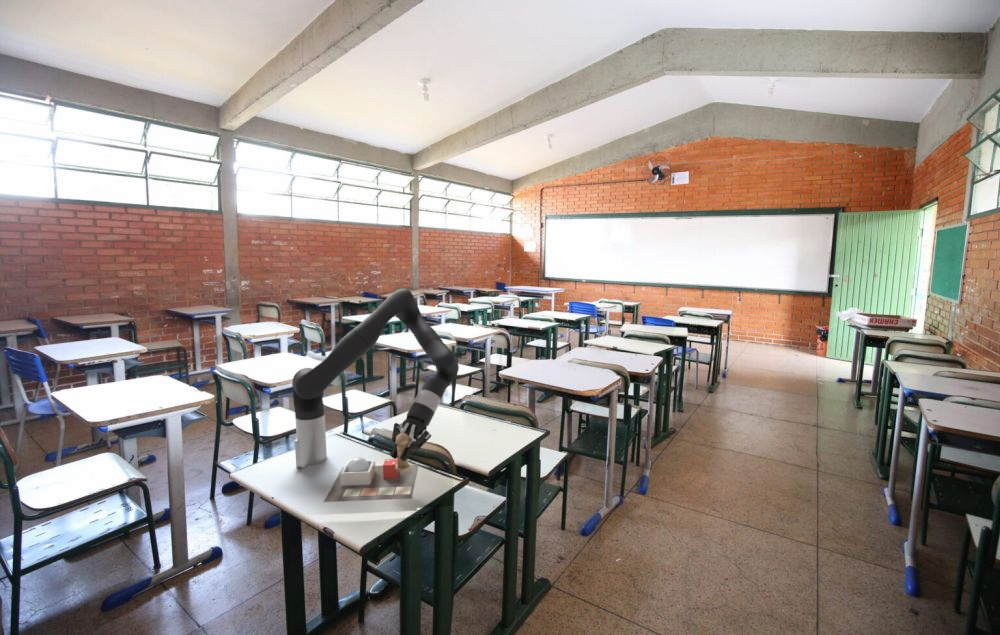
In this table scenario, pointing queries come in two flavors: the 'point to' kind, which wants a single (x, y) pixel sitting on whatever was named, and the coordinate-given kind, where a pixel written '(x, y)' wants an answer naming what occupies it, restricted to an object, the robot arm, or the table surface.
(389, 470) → the die
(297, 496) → the table surface
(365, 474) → the housing
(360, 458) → the white ball
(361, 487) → the board
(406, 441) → the pawn
